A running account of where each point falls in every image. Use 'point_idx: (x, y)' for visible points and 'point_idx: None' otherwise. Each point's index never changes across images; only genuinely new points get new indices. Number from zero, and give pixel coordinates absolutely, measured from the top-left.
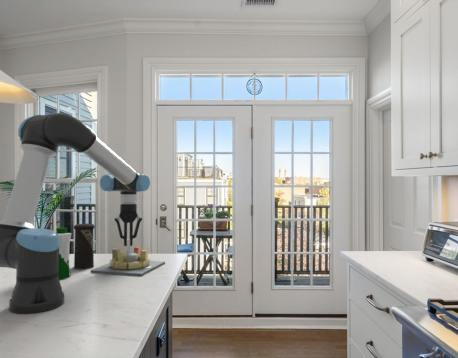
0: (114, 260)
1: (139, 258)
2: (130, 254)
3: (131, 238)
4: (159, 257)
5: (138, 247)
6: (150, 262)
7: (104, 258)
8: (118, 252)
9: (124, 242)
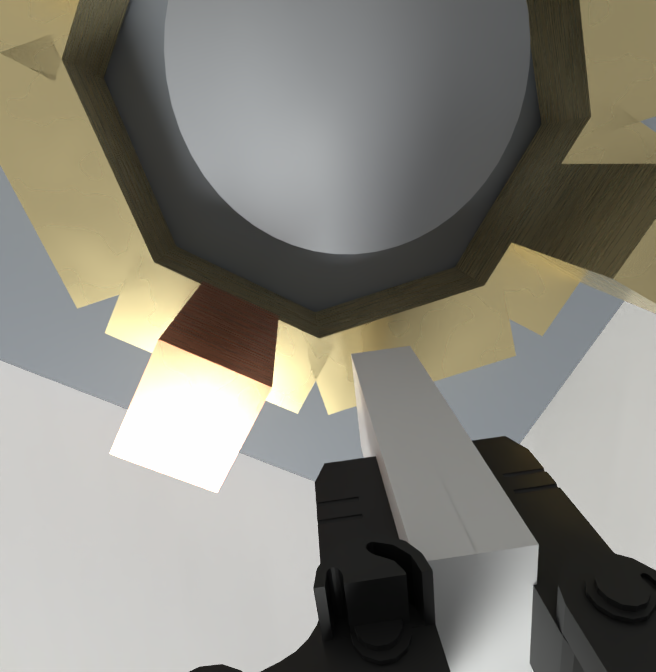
0: (617, 60)
1: (183, 267)
2: (340, 90)
3: (370, 568)
4: (4, 616)
5: (156, 376)
6: (33, 261)
7: None
8: (608, 203)
9: (560, 497)
